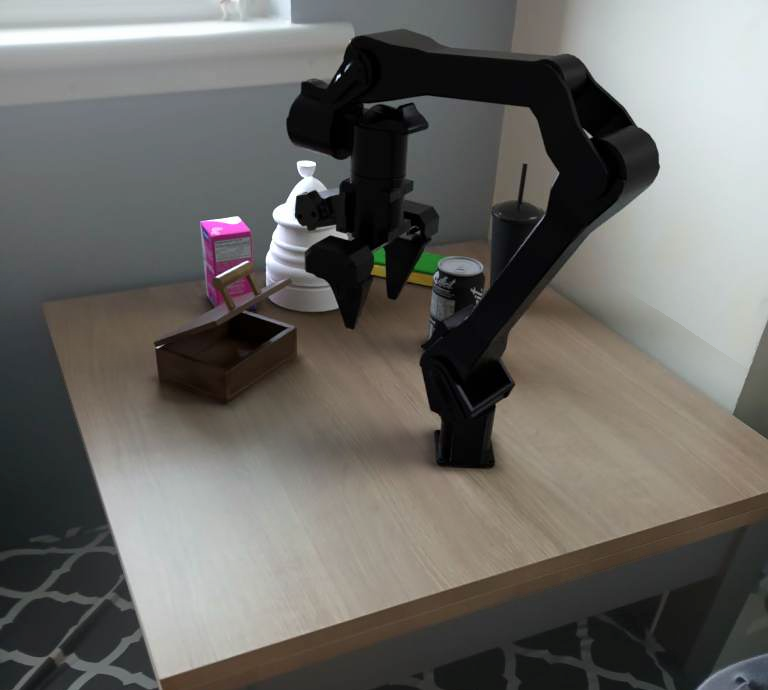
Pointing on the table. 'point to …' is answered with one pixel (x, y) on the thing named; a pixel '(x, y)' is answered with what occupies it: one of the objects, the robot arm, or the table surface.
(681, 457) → the table surface
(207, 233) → the supplement box
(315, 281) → the honey pot
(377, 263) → the dish sponge
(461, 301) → the beverage can
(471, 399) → the robot arm
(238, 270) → the lid
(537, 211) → the drinking cup
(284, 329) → the tea box
